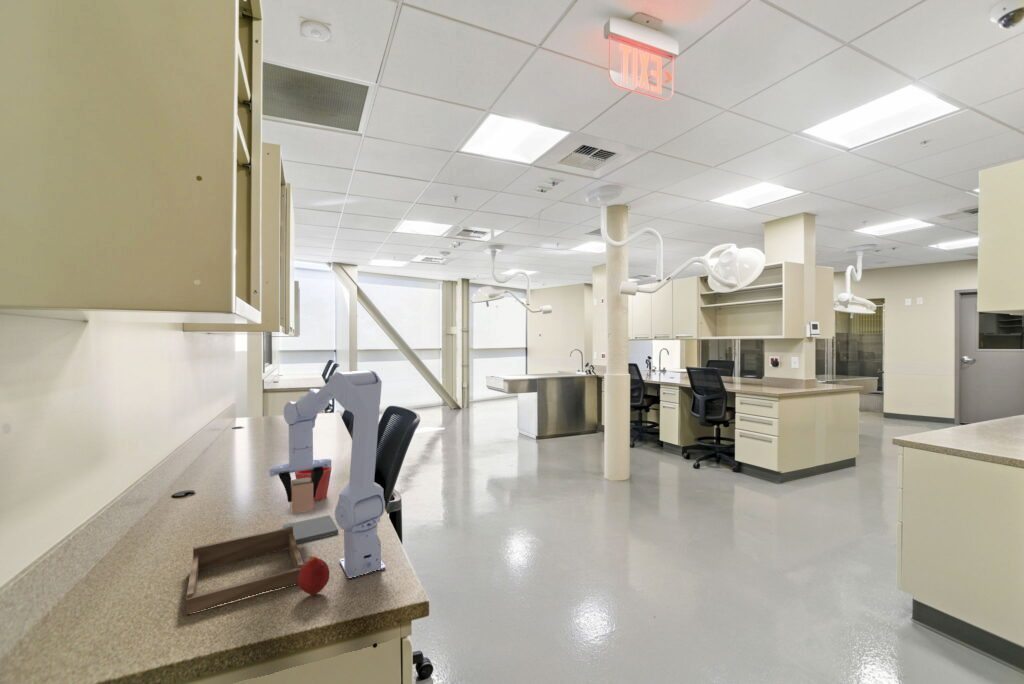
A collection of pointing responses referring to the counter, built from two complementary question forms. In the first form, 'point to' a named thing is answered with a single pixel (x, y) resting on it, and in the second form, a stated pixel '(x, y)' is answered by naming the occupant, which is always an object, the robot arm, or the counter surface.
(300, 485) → the upright tan block
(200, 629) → the counter surface
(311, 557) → the onion
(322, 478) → the flower pot
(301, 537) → the rubber mat
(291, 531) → the open wooden frame
